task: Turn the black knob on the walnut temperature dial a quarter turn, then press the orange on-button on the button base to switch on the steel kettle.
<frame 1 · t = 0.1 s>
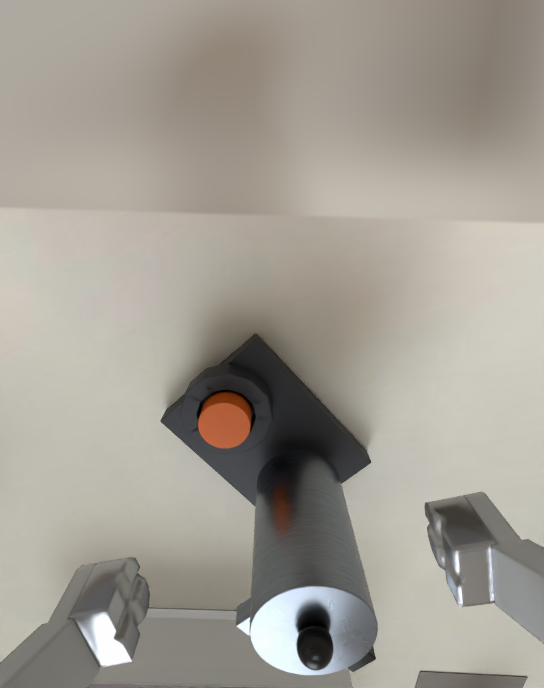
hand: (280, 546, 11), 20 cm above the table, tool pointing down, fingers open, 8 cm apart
book: (206, 687, 43), on the table
orange button: (225, 419, 27), point 4 cm above the table, slide at 0.1 cm
kettle: (298, 484, 29), resting on button base
button base: (268, 430, 32), on the table
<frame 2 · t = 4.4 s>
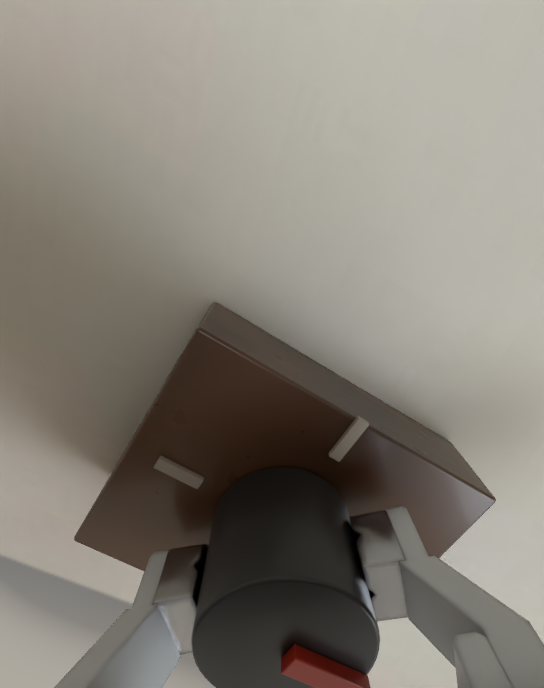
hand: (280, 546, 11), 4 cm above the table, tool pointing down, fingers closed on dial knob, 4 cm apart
dial panel: (279, 460, 14), on the table
dial knob: (283, 580, 10), point 5 cm above the table, hinge at 0.0°, touching gripper
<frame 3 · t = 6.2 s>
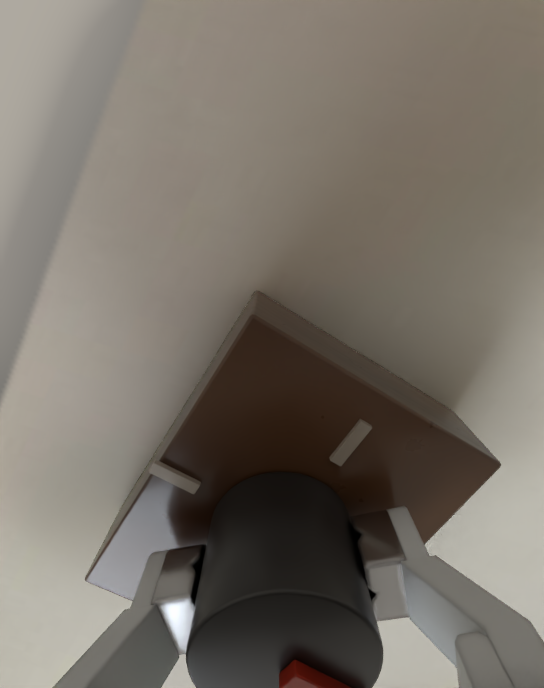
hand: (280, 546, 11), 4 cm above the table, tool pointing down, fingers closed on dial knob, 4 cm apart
dial panel: (278, 462, 14), on the table
dial knob: (282, 590, 9), point 5 cm above the table, hinge at 85.8°, touching gripper
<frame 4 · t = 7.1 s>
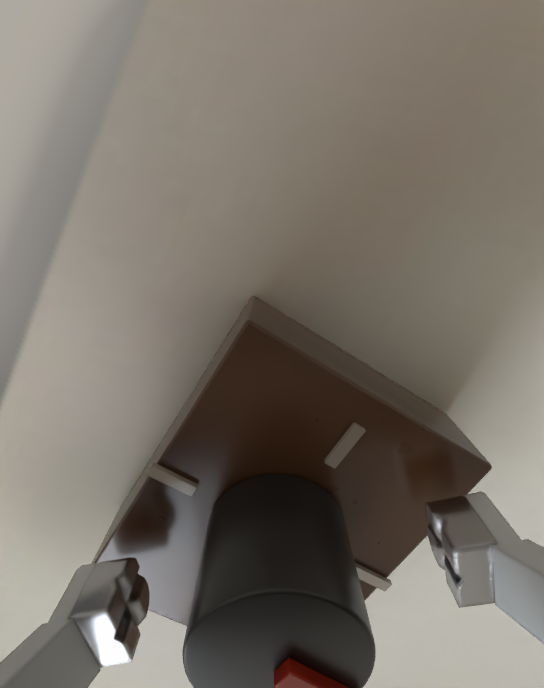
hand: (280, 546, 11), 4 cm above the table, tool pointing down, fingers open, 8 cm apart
dial panel: (274, 465, 14), on the table
dial knob: (277, 590, 9), point 5 cm above the table, hinge at 85.8°
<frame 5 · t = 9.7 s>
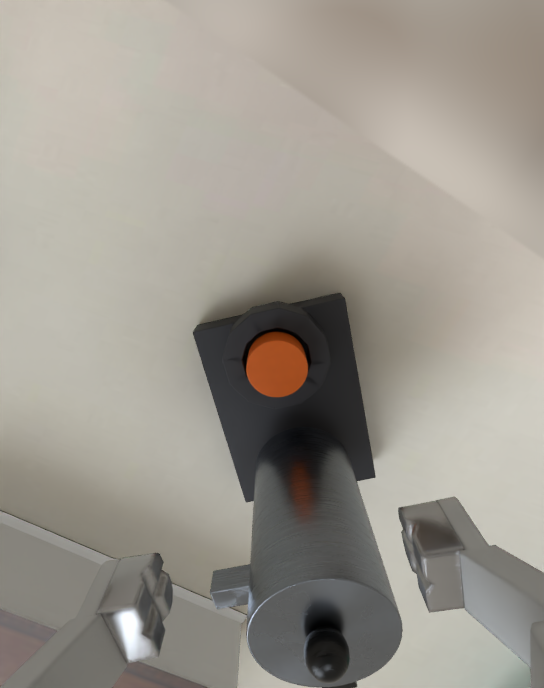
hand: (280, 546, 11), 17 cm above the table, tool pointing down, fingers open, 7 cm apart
book: (57, 638, 37), on the table
orange button: (276, 364, 23), point 4 cm above the table, slide at 0.1 cm
kettle: (302, 467, 26), resting on button base
button base: (289, 398, 28), on the table
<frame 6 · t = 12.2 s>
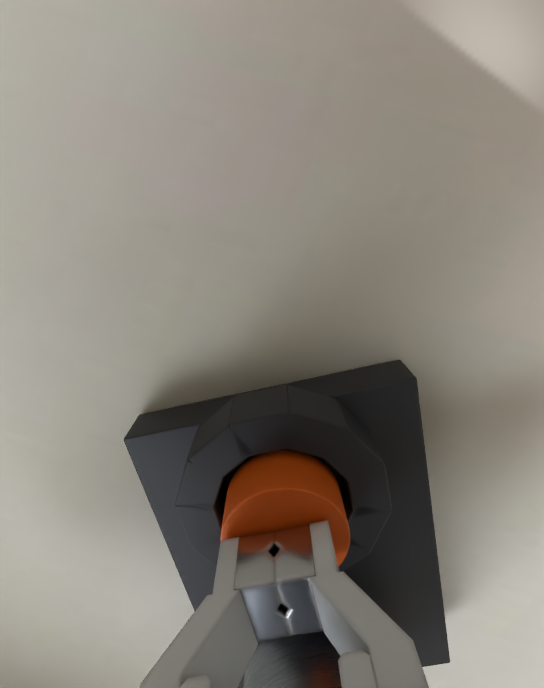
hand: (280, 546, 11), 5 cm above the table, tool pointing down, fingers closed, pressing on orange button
orange button: (284, 518, 11), point 4 cm above the table, slide at 0.0 cm, touching gripper
kettle: (330, 676, 14), resting on button base
button base: (303, 530, 16), on the table
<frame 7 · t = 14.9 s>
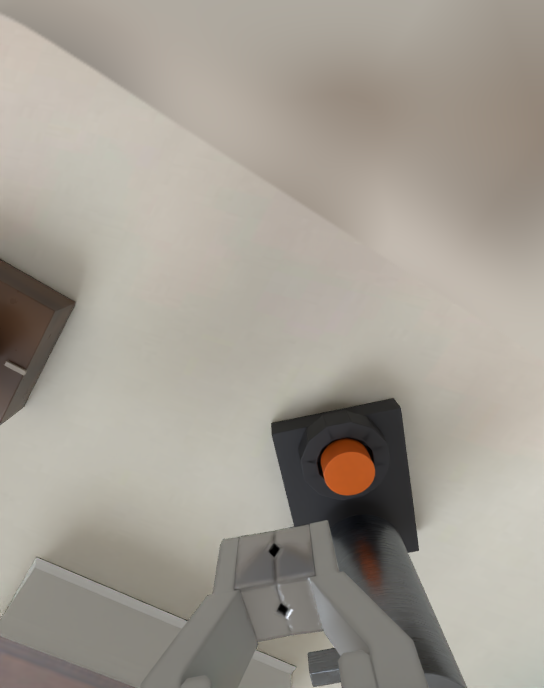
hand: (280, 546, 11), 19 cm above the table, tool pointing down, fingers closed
orange button: (347, 466, 28), point 4 cm above the table, slide at 0.1 cm
kettle: (361, 547, 30), resting on button base
button base: (345, 482, 33), on the table
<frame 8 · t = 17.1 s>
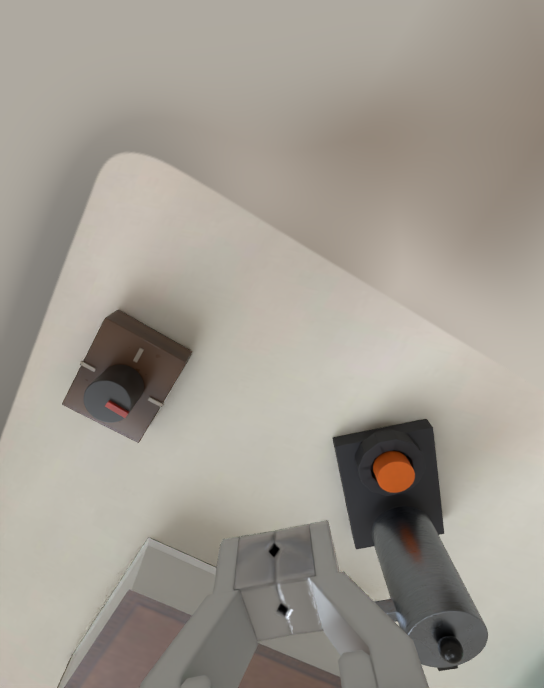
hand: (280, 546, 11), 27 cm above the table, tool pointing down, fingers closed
book: (204, 640, 51), on the table
orange button: (393, 471, 37), point 4 cm above the table, slide at 0.1 cm
dial panel: (133, 371, 38), on the table
kettle: (401, 530, 40), resting on button base
dial knob: (114, 393, 33), point 5 cm above the table, hinge at 85.8°
button base: (387, 481, 43), on the table
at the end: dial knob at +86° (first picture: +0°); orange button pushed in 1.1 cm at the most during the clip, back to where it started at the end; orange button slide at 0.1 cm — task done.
